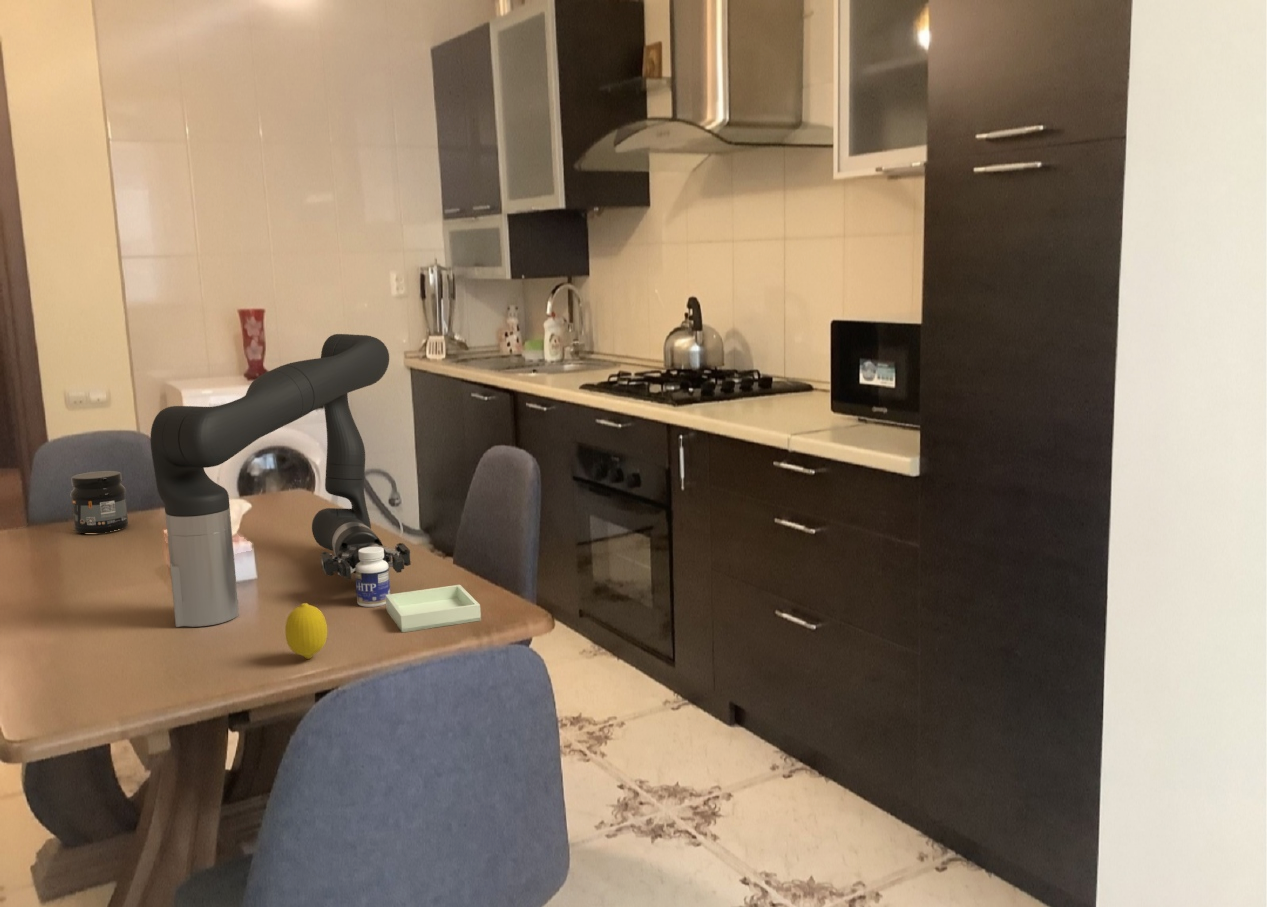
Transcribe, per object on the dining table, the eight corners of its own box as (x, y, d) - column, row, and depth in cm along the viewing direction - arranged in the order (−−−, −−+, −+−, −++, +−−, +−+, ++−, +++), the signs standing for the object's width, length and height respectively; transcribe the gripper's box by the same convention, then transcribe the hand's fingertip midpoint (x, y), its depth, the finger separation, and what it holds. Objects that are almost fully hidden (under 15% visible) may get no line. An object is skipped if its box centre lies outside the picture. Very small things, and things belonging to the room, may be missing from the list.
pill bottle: (350, 605, 171) (346, 552, 169) (370, 596, 176) (366, 544, 174) (378, 609, 169) (374, 554, 167) (397, 599, 174) (394, 546, 172)
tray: (402, 632, 157) (401, 616, 157) (386, 610, 168) (385, 594, 168) (480, 620, 162) (480, 604, 162) (460, 599, 173) (459, 584, 172)
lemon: (317, 667, 144) (312, 610, 143) (279, 665, 145) (275, 608, 144) (336, 652, 149) (332, 598, 148) (300, 650, 150) (296, 596, 149)
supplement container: (95, 523, 233) (89, 470, 231) (139, 524, 232) (134, 470, 230) (63, 535, 223) (57, 479, 221) (109, 536, 221) (103, 479, 219)
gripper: (312, 530, 181) (326, 552, 166) (396, 521, 186) (417, 541, 171) (315, 573, 182) (329, 598, 167) (399, 562, 188) (420, 586, 173)
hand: (374, 569), depth 169 cm, fingers open, 7 cm apart
